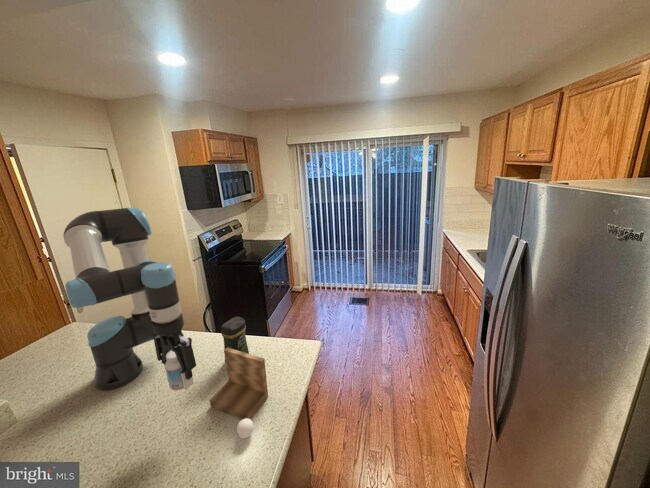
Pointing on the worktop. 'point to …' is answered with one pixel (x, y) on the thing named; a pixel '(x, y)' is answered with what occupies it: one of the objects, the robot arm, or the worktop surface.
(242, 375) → the brown piece
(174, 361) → the pill bottle
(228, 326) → the coffee jar
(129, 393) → the worktop surface
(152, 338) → the robot arm
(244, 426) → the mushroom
